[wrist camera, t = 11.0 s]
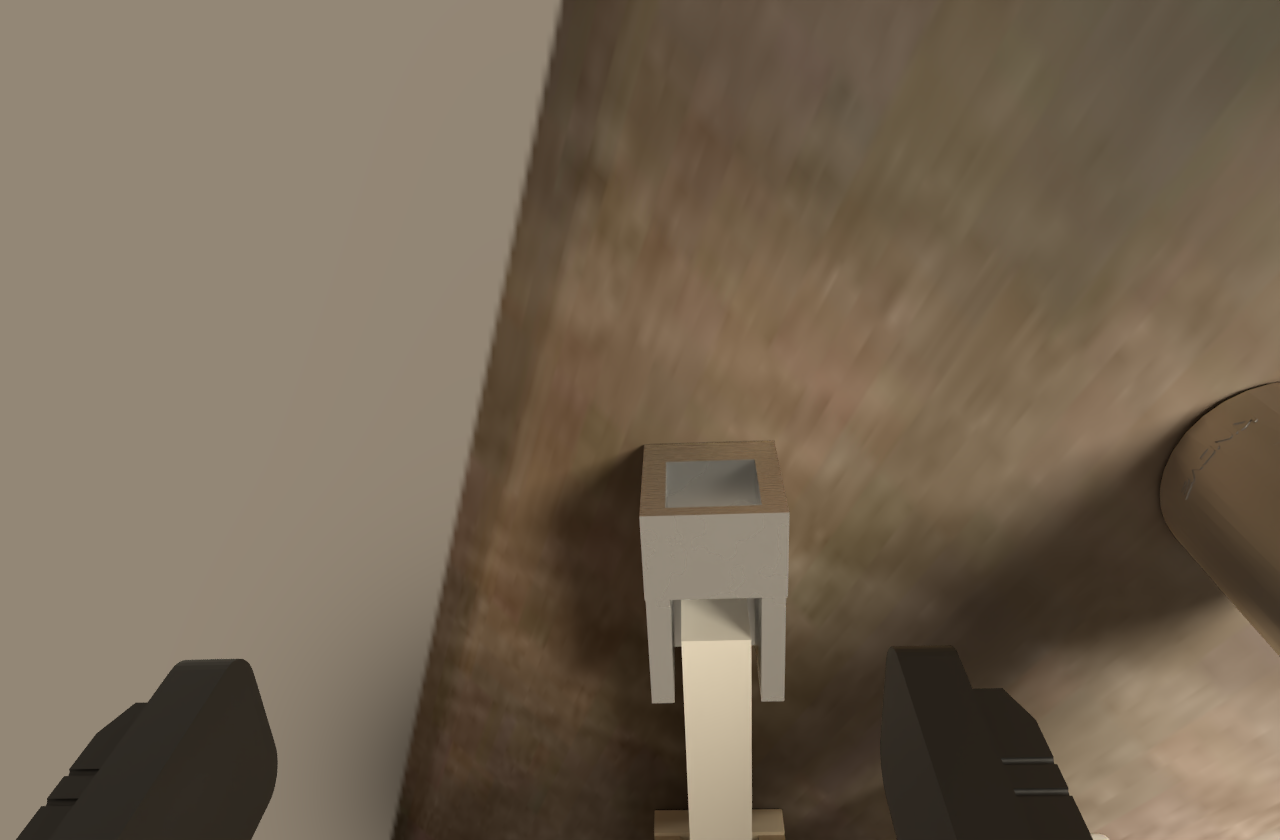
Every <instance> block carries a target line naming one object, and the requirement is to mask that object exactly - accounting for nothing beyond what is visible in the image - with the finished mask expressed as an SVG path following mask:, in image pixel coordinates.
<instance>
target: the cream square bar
mask: <svg viewBox="0 0 1280 840" xmlns="http://www.w3.org/2000/svg"><path fill="white" fill-rule="evenodd" d="M681 645H682V668H683V691H684V714H685V737H686V760H687V783H688V806H689V829H690V840H752V673H751V632H750V623H749V614H748V605H747V598H734V599H689V600H681Z"/></svg>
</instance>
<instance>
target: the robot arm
mask: <svg viewBox="0 0 1280 840" xmlns="http://www.w3.org/2000/svg"><path fill="white" fill-rule="evenodd" d="M1160 506H1161V510H1162V513H1163V516H1164V519H1165V522H1166V525H1167V526H1168V528H1169V529H1170V530H1171V532H1172V533H1173V535H1174V536H1175V538H1176V539H1177V540H1178V541H1179V542H1180V544H1181V545H1182V546H1183V547H1184V548H1185V549H1186V550H1187V551H1188V553H1189V554H1190V555H1191V556H1192V557H1193V558H1194V559H1195V561H1196V562H1197V563H1198V564H1199V565H1200V566H1201V567H1202V569H1203V570H1204V571H1205V572H1206V573H1207V574H1208V575H1209V576H1210V578H1211V579H1212V580H1213V581H1214V582H1215V583H1216V585H1217V586H1218V587H1219V588H1220V590H1221V591H1222V592H1223V593H1224V594H1225V595H1226V596H1227V598H1228V599H1229V600H1230V601H1231V602H1232V603H1233V604H1234V605H1235V607H1236V608H1237V609H1238V610H1239V611H1240V612H1241V613H1242V614H1243V616H1244V617H1245V618H1246V619H1247V620H1248V621H1249V622H1250V624H1251V625H1252V626H1253V627H1254V628H1255V629H1256V630H1257V631H1258V633H1259V634H1260V635H1261V636H1262V637H1263V638H1264V639H1265V640H1266V642H1267V643H1268V644H1269V645H1270V646H1271V647H1272V648H1273V650H1274V651H1275V652H1276V653H1277V654H1278V655H1279V656H1280V383H1271V384H1268V385H1264V386H1261V387H1258V388H1254V389H1251V390H1247V391H1245V392H1243V393H1241V394H1239V395H1237V396H1235V397H1233V398H1230V399H1228V400H1226V401H1224V402H1223V403H1221V404H1220V405H1218V406H1217V407H1215V408H1214V409H1213V410H1211V411H1210V412H1208V413H1207V414H1205V415H1204V416H1203V417H1202V418H1201V419H1200V420H1199V421H1197V422H1196V423H1195V424H1194V425H1193V426H1192V427H1191V428H1190V429H1189V430H1188V431H1187V432H1186V433H1185V435H1184V436H1183V437H1182V439H1181V440H1180V442H1179V443H1178V444H1177V446H1176V447H1175V448H1174V450H1173V451H1172V453H1171V456H1170V458H1169V460H1168V462H1167V464H1166V467H1165V469H1164V472H1163V476H1162V481H1161V486H1160ZM880 754H881V768H882V777H883V783H884V789H885V794H886V798H887V802H888V806H889V810H890V814H891V818H892V821H893V825H894V829H895V833H896V837H897V840H1093V838H1092V836H1091V834H1090V832H1089V830H1088V828H1087V826H1086V824H1085V822H1084V820H1083V818H1082V815H1081V813H1080V811H1079V809H1078V807H1077V805H1076V803H1075V801H1074V799H1073V797H1072V796H1069V792H1068V786H1067V784H1066V782H1065V780H1064V778H1063V776H1062V774H1061V772H1060V770H1059V768H1058V765H1057V764H1054V761H1053V755H1052V753H1051V751H1050V749H1049V747H1048V745H1047V743H1046V740H1045V738H1044V736H1043V734H1042V732H1041V730H1040V728H1039V726H1038V724H1037V722H1036V720H1035V719H1034V718H1033V717H1032V716H1031V715H1030V714H1029V713H1028V712H1027V711H1026V710H1025V709H1024V708H1023V707H1022V706H1020V705H1019V704H1018V703H1017V702H1016V701H1015V700H1014V699H1013V698H1012V697H1011V696H1010V695H1009V694H1008V693H1007V692H1006V691H1005V690H1004V689H1003V688H994V689H972V687H971V685H970V682H969V680H968V677H967V675H966V673H965V670H964V668H963V665H962V663H961V660H960V658H959V656H958V654H957V651H956V650H955V648H954V647H953V646H950V645H945V646H899V647H890V648H889V649H888V653H887V659H886V671H885V685H884V698H883V712H882V725H881V740H880ZM69 770H70V773H69V776H64V777H63V778H62V780H61V781H60V782H59V784H58V785H57V786H56V788H55V789H54V790H53V792H52V793H51V794H50V796H49V797H48V798H47V805H46V806H41V808H40V809H39V810H38V811H37V813H36V814H35V815H34V817H33V818H32V819H31V821H30V822H29V823H28V825H27V826H26V827H25V828H24V830H23V831H22V832H21V834H20V835H19V836H18V838H17V839H16V840H251V839H252V837H253V835H254V833H255V831H256V829H257V826H258V824H259V822H260V820H261V818H262V816H263V814H264V812H265V810H266V808H267V806H268V804H269V801H270V799H271V797H272V794H273V791H274V787H275V782H276V777H277V751H276V747H275V743H274V739H273V736H272V733H271V729H270V726H269V723H268V719H267V716H266V713H265V709H264V706H263V703H262V699H261V696H260V693H259V689H258V686H257V683H256V679H255V676H254V673H253V670H252V668H251V666H250V664H249V663H248V662H247V661H245V660H244V659H211V660H184V661H181V662H179V663H178V664H176V665H175V666H174V667H173V669H172V670H171V671H170V672H169V674H168V675H167V677H166V678H165V679H164V681H163V682H162V684H161V685H160V686H159V688H158V689H157V691H156V692H155V693H154V695H153V696H152V698H151V699H150V700H149V702H148V703H135V704H134V705H132V706H131V707H130V708H129V709H127V710H126V711H125V712H124V713H122V714H121V715H120V716H119V717H117V718H116V719H115V720H114V721H112V722H111V723H110V724H108V725H107V726H106V727H104V728H103V729H102V730H101V731H99V732H98V733H97V734H96V735H95V736H94V738H93V739H92V740H91V742H90V743H89V744H88V746H87V747H86V748H85V749H84V751H83V752H82V753H81V755H80V756H79V757H78V759H77V760H76V761H75V763H74V764H73V765H72V767H71V768H70V769H69Z"/></svg>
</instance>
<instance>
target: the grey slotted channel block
mask: <svg viewBox="0 0 1280 840" xmlns="http://www.w3.org/2000/svg"><path fill="white" fill-rule="evenodd" d="M639 520H640V536H641V551H642V567H643V583H644V599H645V600H646V615H647V631H648V647H649V663H650V679H651V694H652V703H675V647H682V645H681V600H689V599H734V598H747V605H748V614H749V623H750V632H751V645H755V651H756V659H757V668H758V677H759V685H760V694H761V702H763V701H784V692H785V633H786V597H788V559H789V508H788V504H787V499H786V494H785V489H784V484H783V480H782V475H781V470H780V465H779V460H778V455H777V451H776V446H775V441H749V442H717V443H686V444H654V445H644V456H643V470H642V485H641V499H640V513H639Z"/></svg>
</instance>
